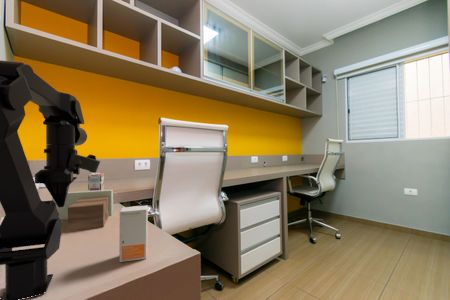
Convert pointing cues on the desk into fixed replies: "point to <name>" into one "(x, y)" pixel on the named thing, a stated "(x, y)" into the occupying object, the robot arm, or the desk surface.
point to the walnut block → (88, 213)
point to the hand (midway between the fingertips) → (61, 206)
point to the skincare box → (133, 233)
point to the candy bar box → (96, 181)
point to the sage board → (74, 196)
